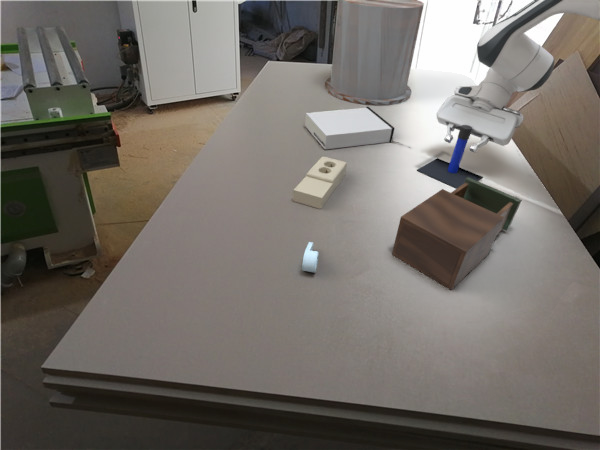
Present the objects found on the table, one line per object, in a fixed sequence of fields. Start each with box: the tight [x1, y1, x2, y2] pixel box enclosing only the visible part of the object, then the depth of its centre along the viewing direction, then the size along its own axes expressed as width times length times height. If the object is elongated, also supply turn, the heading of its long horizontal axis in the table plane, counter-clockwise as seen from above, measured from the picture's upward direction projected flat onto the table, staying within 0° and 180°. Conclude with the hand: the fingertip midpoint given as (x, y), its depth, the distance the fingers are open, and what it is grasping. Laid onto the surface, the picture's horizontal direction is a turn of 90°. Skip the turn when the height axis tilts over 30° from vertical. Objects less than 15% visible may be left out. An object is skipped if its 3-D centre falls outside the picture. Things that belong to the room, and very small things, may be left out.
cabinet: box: [391, 188, 504, 291], centre depth 81 cm, size 16×14×10 cm
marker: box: [448, 125, 472, 173], centre depth 108 cm, size 3×3×13 cm
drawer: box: [450, 177, 523, 235], centre depth 89 cm, size 19×12×8 cm, turn 134°
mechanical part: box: [301, 241, 319, 273], centre depth 79 cm, size 8×2×4 cm, turn 169°
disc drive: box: [304, 106, 395, 150], centre depth 128 cm, size 18×22×5 cm
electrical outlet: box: [292, 156, 348, 210], centre depth 101 cm, size 7×4×18 cm
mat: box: [416, 157, 484, 190], centre depth 112 cm, size 14×14×1 cm
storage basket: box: [324, 0, 425, 106], centre depth 155 cm, size 35×35×32 cm
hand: (459, 146), depth 107 cm, fingers open, 6 cm apart
